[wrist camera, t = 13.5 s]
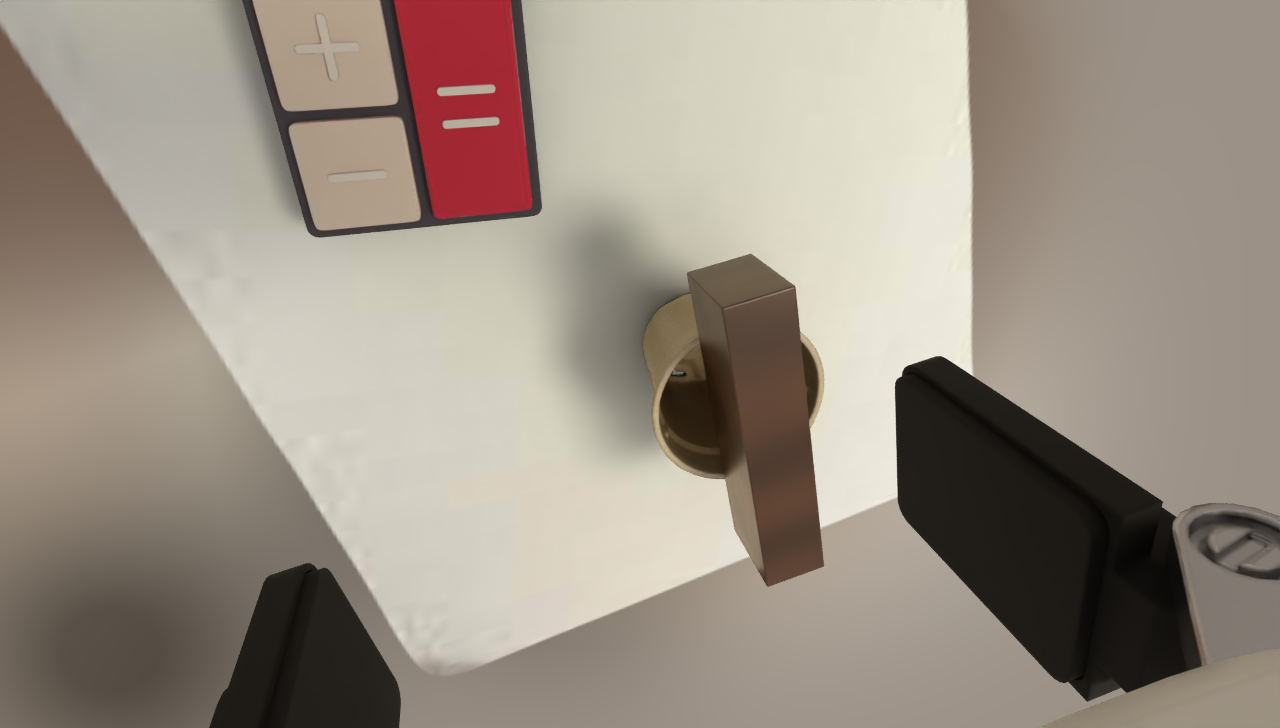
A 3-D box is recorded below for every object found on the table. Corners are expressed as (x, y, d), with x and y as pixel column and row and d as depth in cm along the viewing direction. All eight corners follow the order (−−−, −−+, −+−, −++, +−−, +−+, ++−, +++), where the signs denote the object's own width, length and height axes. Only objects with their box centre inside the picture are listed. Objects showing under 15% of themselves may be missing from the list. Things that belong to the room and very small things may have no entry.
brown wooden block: (686, 272, 31) (721, 308, 27) (751, 252, 31) (795, 285, 27) (734, 529, 38) (767, 587, 34) (786, 511, 39) (824, 566, 35)
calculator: (306, 245, 31) (187, -169, 23) (320, 217, 34) (222, -148, 27) (545, 220, 33) (507, -165, 25) (535, 197, 37) (499, -146, 29)
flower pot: (610, 276, 39) (648, 335, 32) (761, 255, 41) (831, 305, 33) (621, 414, 43) (657, 495, 36) (757, 389, 45) (819, 461, 38)
